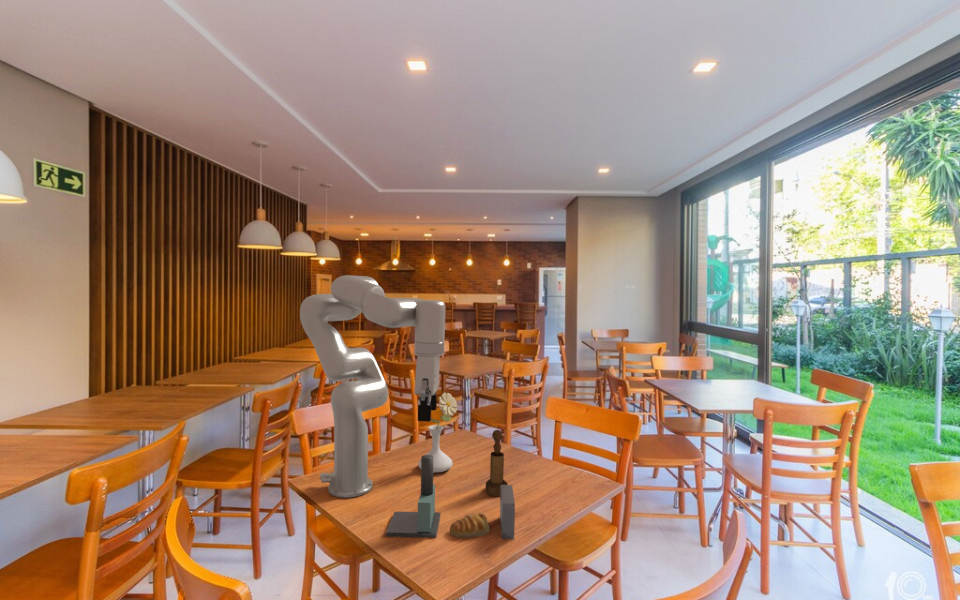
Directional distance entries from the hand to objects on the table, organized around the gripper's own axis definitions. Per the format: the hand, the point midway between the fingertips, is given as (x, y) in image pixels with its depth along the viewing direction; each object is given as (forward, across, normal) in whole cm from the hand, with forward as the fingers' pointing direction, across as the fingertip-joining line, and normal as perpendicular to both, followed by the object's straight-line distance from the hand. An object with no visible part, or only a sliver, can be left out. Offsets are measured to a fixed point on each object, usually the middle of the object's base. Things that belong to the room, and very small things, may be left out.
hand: (427, 415), depth 112 cm
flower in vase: (+27, -32, -1) cm, 42 cm away
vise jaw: (+25, +4, +1) cm, 26 cm away
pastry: (+27, +5, +12) cm, 30 cm away
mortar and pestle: (+27, -17, +19) cm, 37 cm away
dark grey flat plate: (+27, +4, -2) cm, 27 cm away
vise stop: (+26, +3, +21) cm, 34 cm away
